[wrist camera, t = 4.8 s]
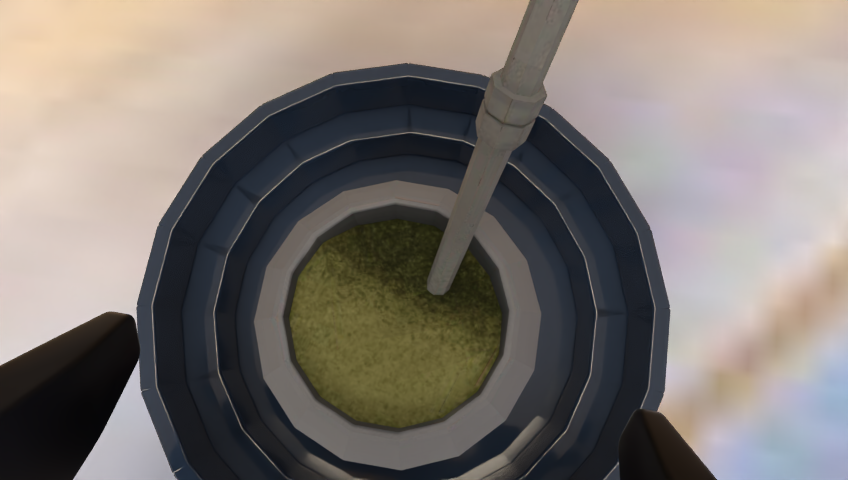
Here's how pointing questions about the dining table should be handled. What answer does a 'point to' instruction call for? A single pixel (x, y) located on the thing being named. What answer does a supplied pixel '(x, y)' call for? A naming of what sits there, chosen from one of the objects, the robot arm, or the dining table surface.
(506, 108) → the mate gourd
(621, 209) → the large metal bowl
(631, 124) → the dining table surface
